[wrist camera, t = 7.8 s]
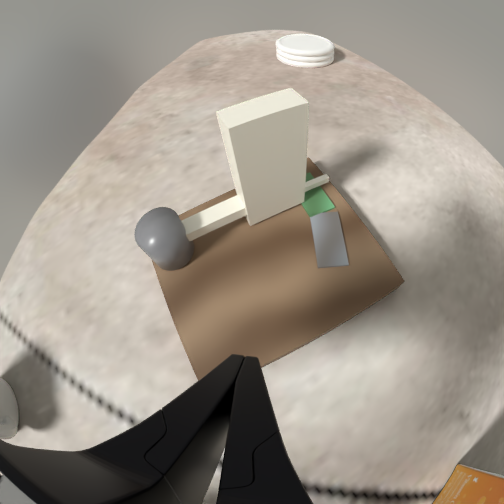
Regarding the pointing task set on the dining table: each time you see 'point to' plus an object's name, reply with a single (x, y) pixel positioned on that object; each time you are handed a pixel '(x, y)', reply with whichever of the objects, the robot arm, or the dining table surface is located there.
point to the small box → (472, 487)
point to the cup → (8, 411)
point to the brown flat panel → (275, 279)
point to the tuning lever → (242, 176)
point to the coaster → (305, 50)
